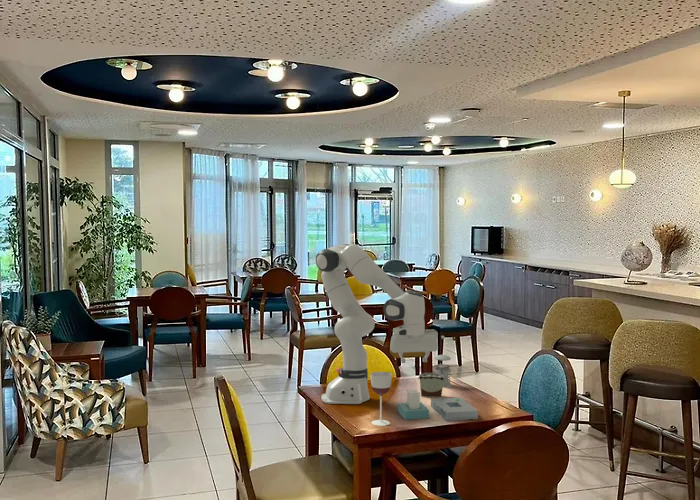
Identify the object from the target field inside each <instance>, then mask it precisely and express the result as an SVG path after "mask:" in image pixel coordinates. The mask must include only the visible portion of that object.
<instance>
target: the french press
mask: <svg viewBox="0 0 700 500" xmlns="http://www.w3.org/2000/svg"><path fill="white" fill-rule="evenodd" d="M441 339H446V337H445V336H444V335H441ZM434 359H435V360H436V361H441V362H444V361H450V360H451V357H450V356H449V355H446V354H444V353H442V354H439V355H436V356H435V357H434ZM441 362H440V363H439V364H435V368H434V373H437V374H441V375H443V376H444V379H445V381H444V380H443V388H442V389H446V388H451V387H453V384H452V383H451V368H450V365H448V364H445V363H441Z"/></svg>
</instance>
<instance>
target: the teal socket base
mask: <svg viewBox="0 0 700 500" xmlns="http://www.w3.org/2000/svg"><path fill="white" fill-rule="evenodd" d="M397 413H399V415H400V416H401V417H402V418H403V419H404V420H422V419H423V420H426V419H430V410H429V408H427V406H425V405H424V403H423V402H421V401H420V409H409V408H408V407H407V402H398V403H397Z"/></svg>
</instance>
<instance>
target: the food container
mask: <svg viewBox="0 0 700 500" xmlns="http://www.w3.org/2000/svg"><path fill="white" fill-rule="evenodd" d="M443 380H444V381H445V379H444V376H443V375H441V374H437V373H436V372H425V373H421V374H419V376H418V381H419V385H420V396H421V397H422V398H423V397H424V398H442V395H443V389H444V388H443ZM421 397H420V398H421Z"/></svg>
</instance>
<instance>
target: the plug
mask: <svg viewBox="0 0 700 500" xmlns="http://www.w3.org/2000/svg"><path fill="white" fill-rule="evenodd" d="M406 391H407V393H406V396H407V397H406V403H407V407H408V408H409V409H420V402H421V401H420V400H421V397H420V396H421V392H420V391H418V390H417V389H410V390H409V389H407V390H406Z"/></svg>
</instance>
